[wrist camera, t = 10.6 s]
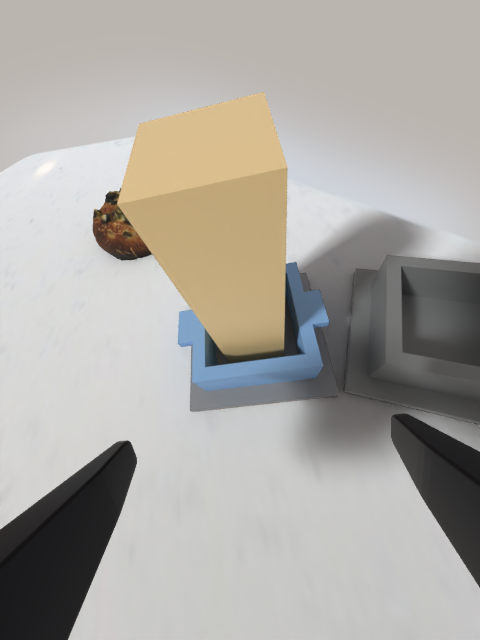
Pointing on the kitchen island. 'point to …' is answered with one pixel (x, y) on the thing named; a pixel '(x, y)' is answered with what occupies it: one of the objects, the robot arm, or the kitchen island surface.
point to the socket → (417, 336)
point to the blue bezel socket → (268, 373)
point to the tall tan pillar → (217, 218)
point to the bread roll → (117, 231)
